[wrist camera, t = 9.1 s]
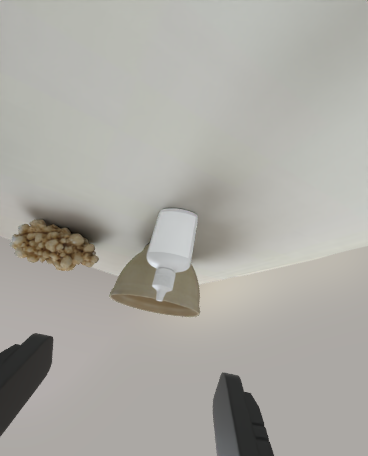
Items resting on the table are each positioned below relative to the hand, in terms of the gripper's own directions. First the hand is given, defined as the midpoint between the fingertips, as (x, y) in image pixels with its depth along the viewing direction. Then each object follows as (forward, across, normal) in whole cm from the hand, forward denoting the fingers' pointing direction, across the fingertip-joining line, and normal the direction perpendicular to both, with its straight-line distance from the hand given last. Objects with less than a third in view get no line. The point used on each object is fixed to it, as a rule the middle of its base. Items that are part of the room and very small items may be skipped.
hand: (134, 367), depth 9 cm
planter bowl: (+30, +1, +6) cm, 30 cm away
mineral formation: (+31, +21, +6) cm, 38 cm away
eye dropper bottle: (+20, 0, -4) cm, 21 cm away
